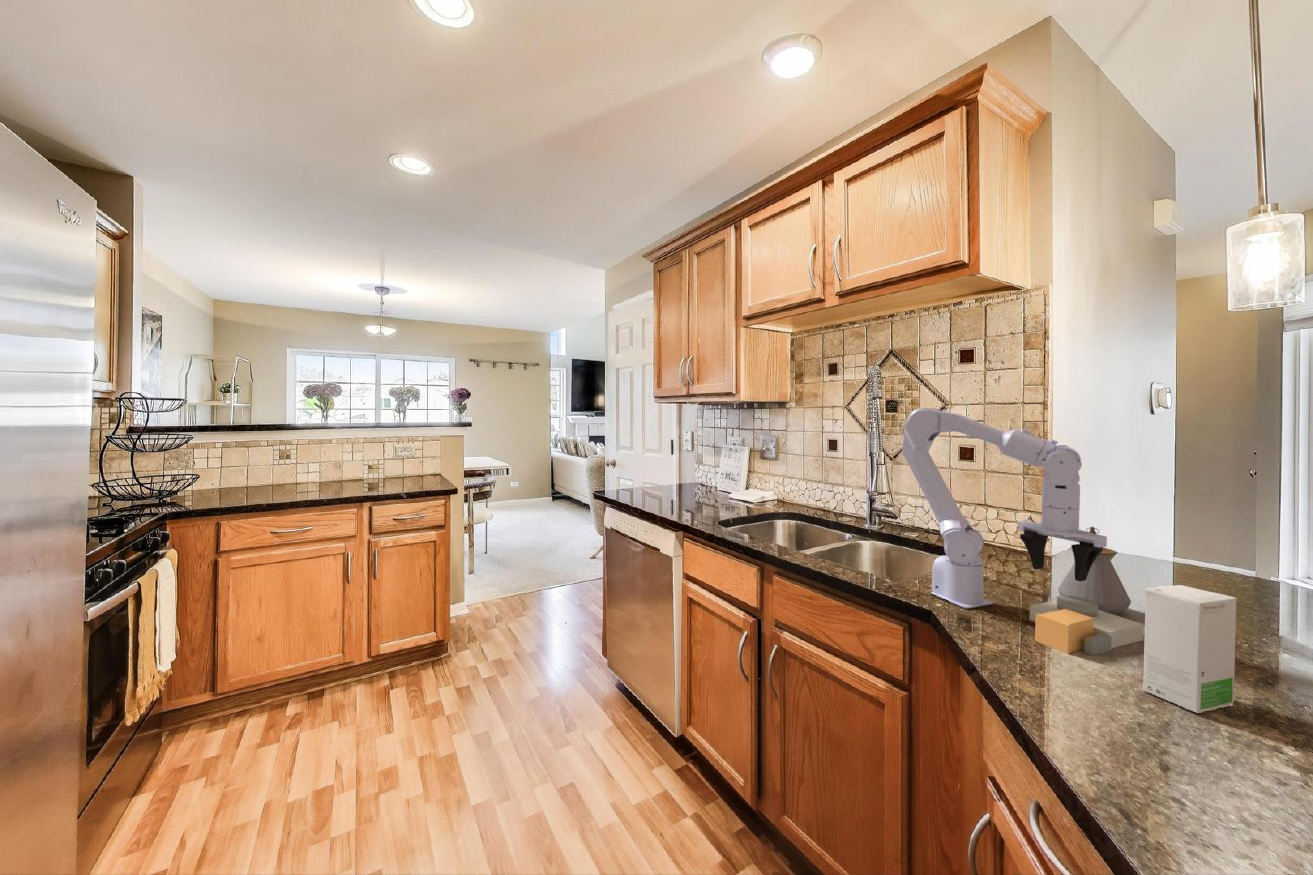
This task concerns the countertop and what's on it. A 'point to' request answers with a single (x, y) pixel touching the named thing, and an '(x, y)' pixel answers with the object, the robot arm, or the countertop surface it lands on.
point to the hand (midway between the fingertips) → (1058, 574)
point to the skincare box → (1189, 647)
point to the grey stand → (1095, 623)
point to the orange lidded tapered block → (1063, 630)
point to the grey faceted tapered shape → (1099, 584)
